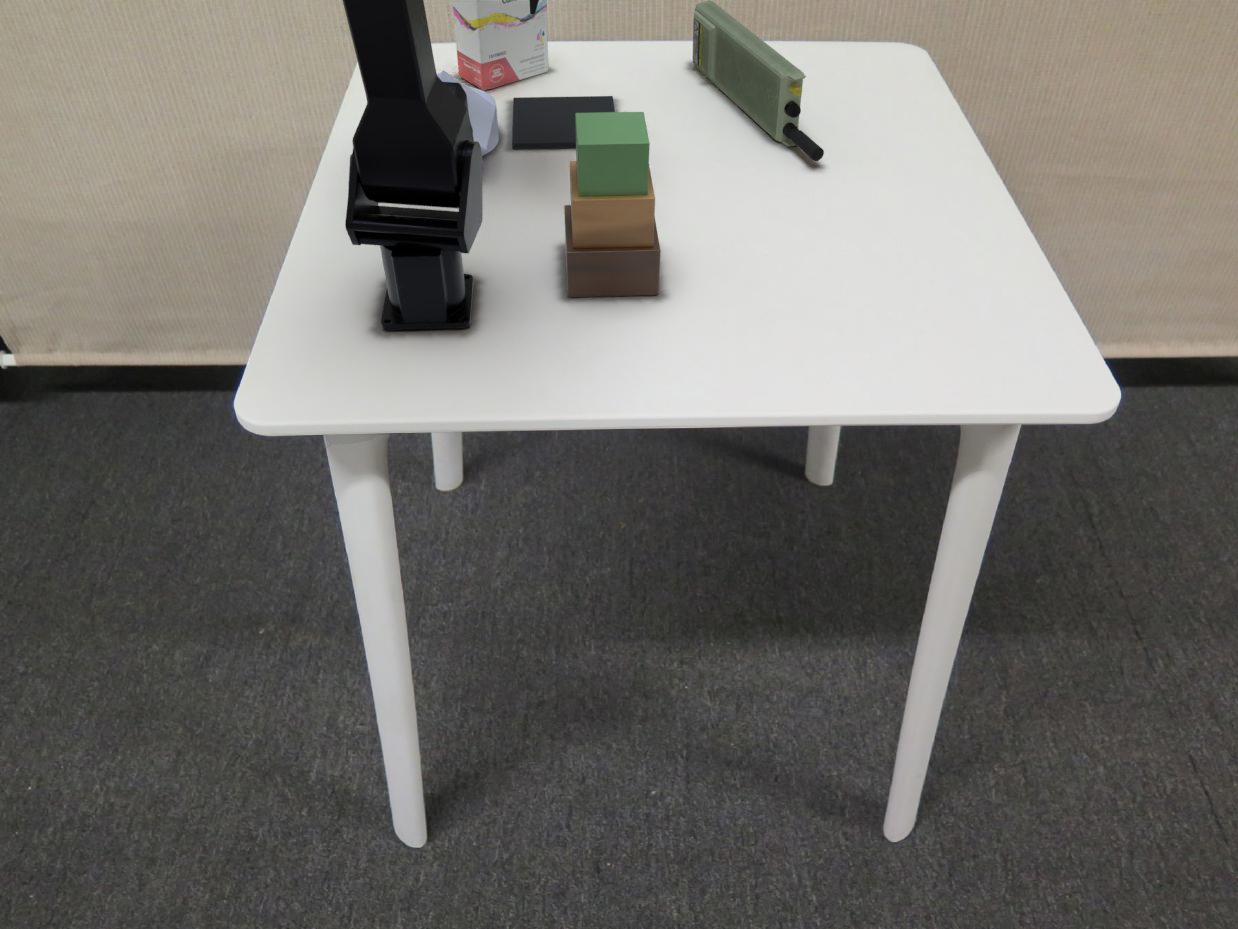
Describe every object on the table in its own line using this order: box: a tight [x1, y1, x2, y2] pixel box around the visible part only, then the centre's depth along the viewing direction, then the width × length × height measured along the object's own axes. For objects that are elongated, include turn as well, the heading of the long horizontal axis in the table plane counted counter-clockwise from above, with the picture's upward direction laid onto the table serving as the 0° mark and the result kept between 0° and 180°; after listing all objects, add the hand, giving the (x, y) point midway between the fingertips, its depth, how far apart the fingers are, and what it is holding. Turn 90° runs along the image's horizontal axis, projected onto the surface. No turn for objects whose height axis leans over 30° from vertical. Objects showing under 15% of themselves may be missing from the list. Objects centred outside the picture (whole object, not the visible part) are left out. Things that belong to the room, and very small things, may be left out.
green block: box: [575, 111, 650, 196], centre depth 73 cm, size 5×5×4 cm
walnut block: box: [563, 204, 661, 298], centre depth 79 cm, size 7×7×4 cm
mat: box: [511, 95, 616, 150], centre depth 99 cm, size 10×10×1 cm
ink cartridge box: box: [451, 0, 549, 92], centre depth 102 cm, size 9×5×15 cm, turn 130°
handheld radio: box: [692, 0, 825, 162], centre depth 99 cm, size 7×3×25 cm
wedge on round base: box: [437, 69, 500, 157], centre depth 92 cm, size 9×7×13 cm
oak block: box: [569, 160, 656, 248], centre depth 76 cm, size 6×6×4 cm
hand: (475, 13), depth 83 cm, fingers open, 9 cm apart
